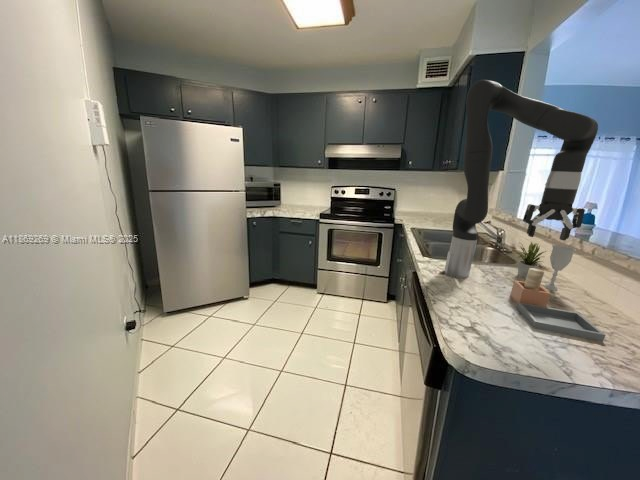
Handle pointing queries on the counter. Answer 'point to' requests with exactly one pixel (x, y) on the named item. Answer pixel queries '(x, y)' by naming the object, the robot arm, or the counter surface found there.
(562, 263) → the chalice
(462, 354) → the counter surface
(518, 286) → the terracotta open box
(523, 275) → the house plant
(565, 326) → the tray
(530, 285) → the peg
